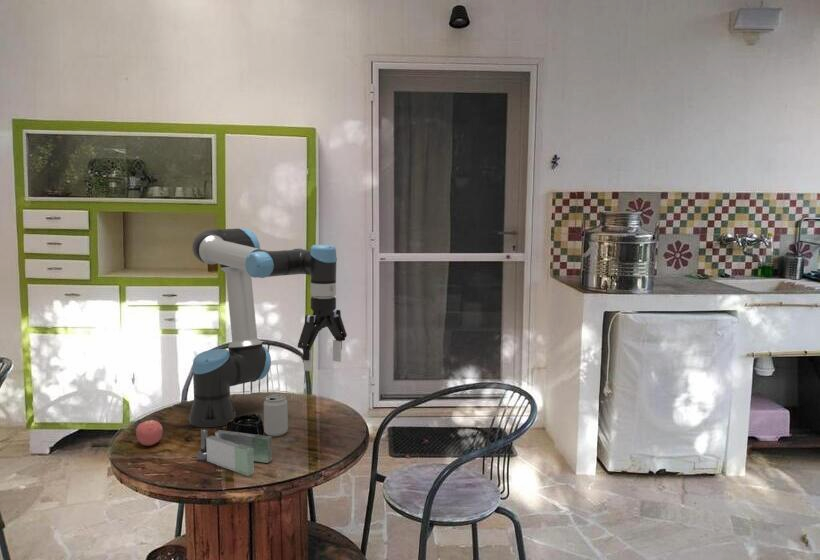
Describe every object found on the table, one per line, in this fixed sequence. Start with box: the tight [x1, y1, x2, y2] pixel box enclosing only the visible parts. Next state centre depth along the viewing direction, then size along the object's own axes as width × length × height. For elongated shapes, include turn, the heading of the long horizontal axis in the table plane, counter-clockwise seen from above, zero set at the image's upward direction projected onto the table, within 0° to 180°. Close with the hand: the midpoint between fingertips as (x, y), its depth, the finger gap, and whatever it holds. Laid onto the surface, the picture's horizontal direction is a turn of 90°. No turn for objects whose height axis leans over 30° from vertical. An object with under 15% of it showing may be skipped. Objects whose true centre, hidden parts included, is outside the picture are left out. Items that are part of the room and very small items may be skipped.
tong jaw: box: [214, 429, 273, 464], centre depth 177 cm, size 17×2×7 cm, turn 74°
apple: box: [135, 418, 164, 447], centre depth 187 cm, size 7×7×8 cm
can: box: [263, 394, 289, 437], centre depth 197 cm, size 8×8×12 cm
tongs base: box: [196, 428, 255, 477], centre depth 172 cm, size 21×4×8 cm, turn 56°
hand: (323, 365), depth 187 cm, fingers open, 13 cm apart
